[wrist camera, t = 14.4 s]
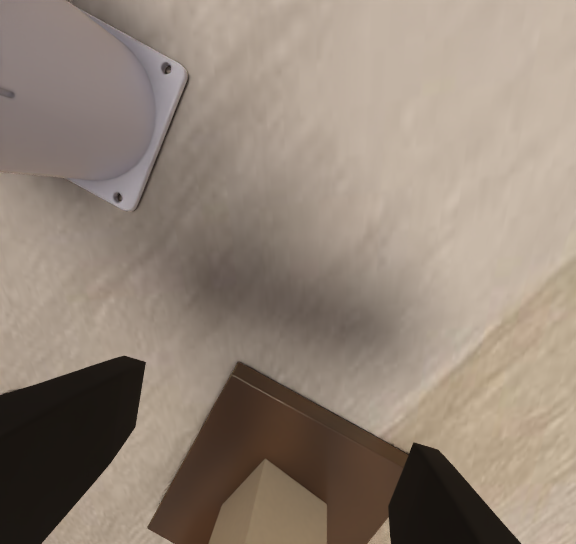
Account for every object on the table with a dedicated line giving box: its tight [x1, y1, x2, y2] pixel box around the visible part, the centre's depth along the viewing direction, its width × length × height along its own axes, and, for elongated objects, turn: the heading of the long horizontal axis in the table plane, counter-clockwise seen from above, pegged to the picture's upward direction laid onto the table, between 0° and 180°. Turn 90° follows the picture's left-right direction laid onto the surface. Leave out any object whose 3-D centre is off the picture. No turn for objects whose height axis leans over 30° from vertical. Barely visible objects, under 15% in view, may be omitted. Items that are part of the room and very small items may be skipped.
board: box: [148, 362, 408, 544], centre depth 21 cm, size 12×13×2 cm
